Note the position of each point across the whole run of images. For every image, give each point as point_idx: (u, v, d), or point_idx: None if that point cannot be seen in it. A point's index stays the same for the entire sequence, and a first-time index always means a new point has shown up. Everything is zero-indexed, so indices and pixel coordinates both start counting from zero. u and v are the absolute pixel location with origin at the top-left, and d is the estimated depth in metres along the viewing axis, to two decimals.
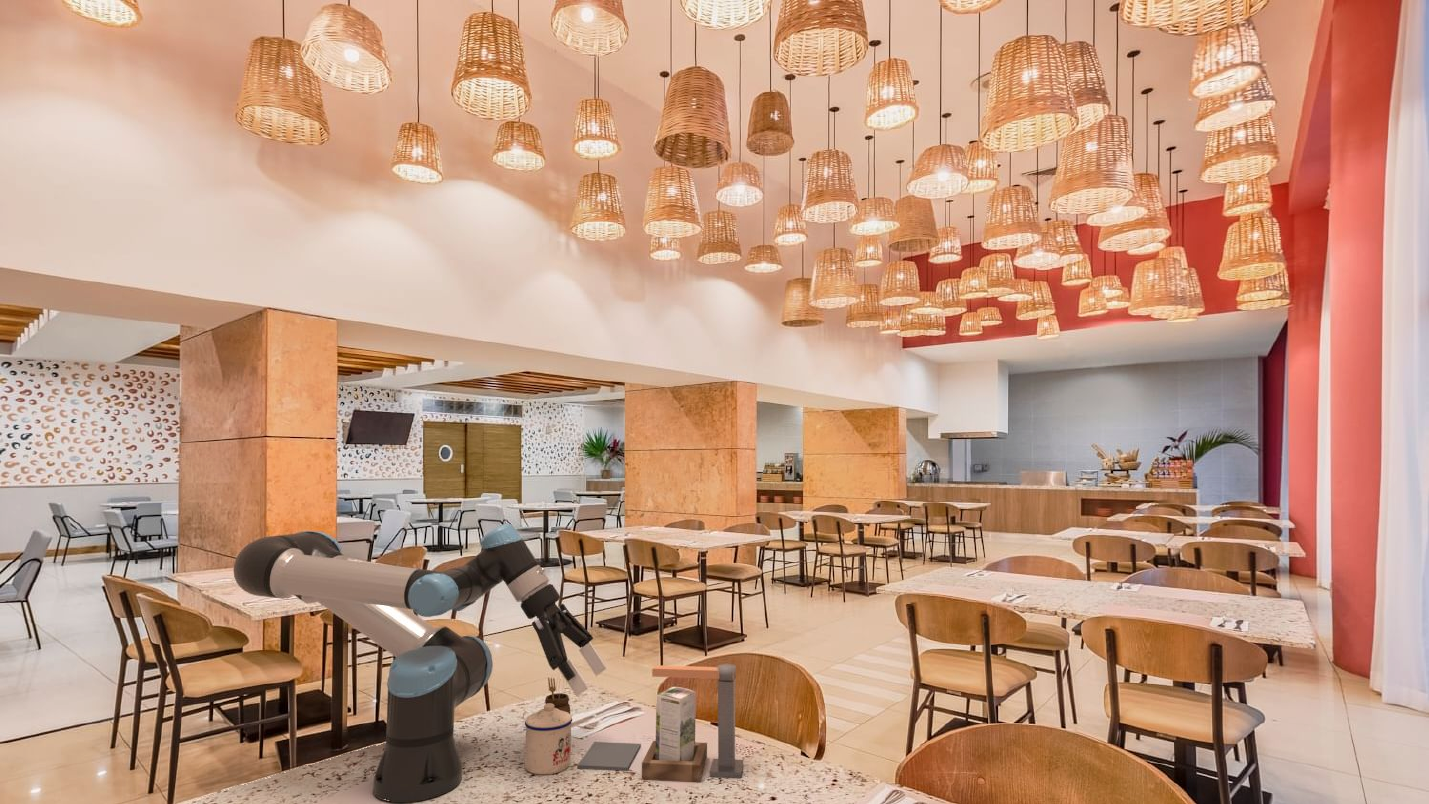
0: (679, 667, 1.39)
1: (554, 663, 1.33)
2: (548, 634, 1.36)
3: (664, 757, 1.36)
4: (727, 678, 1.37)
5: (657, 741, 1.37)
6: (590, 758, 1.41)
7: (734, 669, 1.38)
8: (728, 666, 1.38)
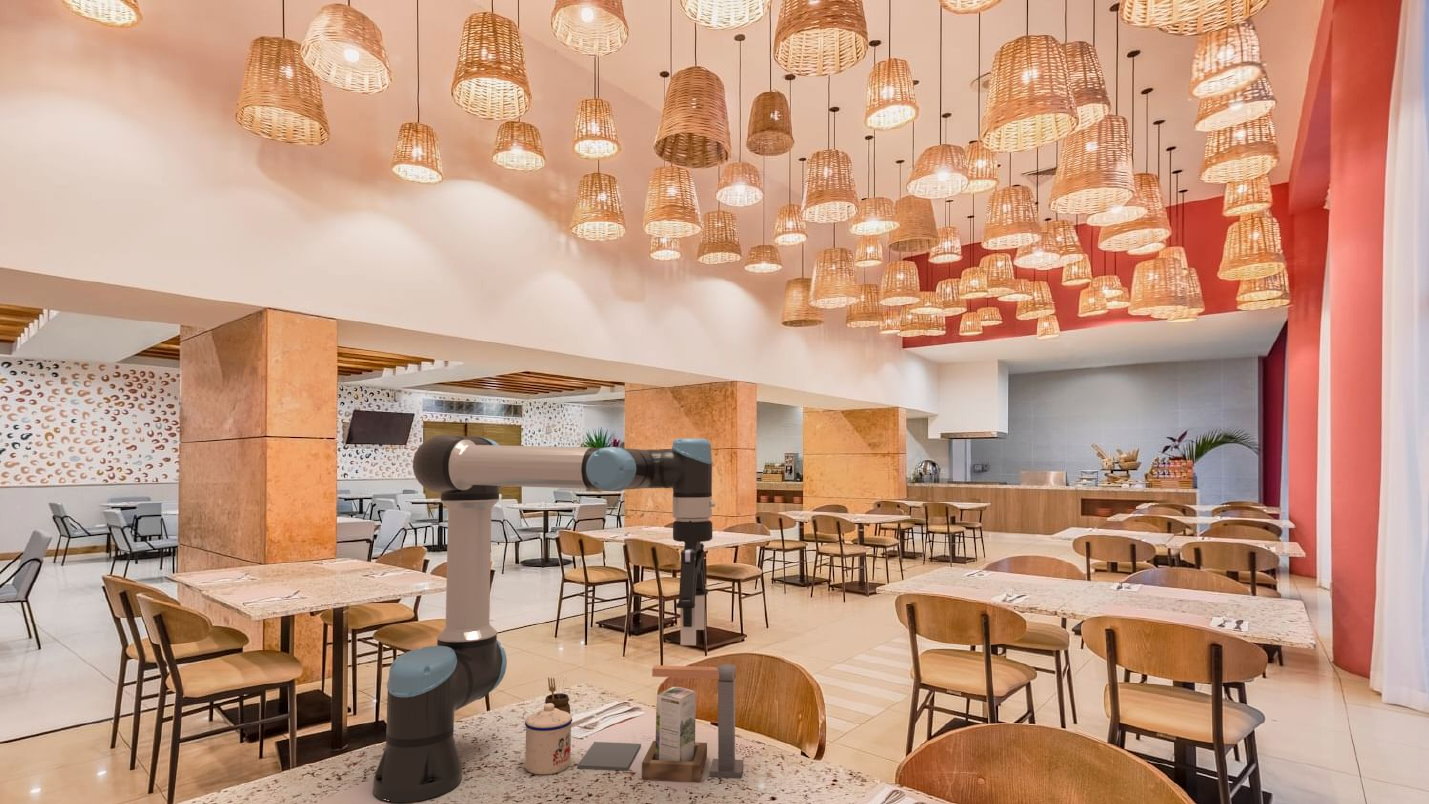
0: (679, 667, 1.39)
1: (684, 604, 1.24)
2: (691, 572, 1.27)
3: (664, 757, 1.36)
4: (727, 678, 1.37)
5: (657, 741, 1.37)
6: (590, 758, 1.41)
7: (734, 669, 1.38)
8: (728, 666, 1.38)
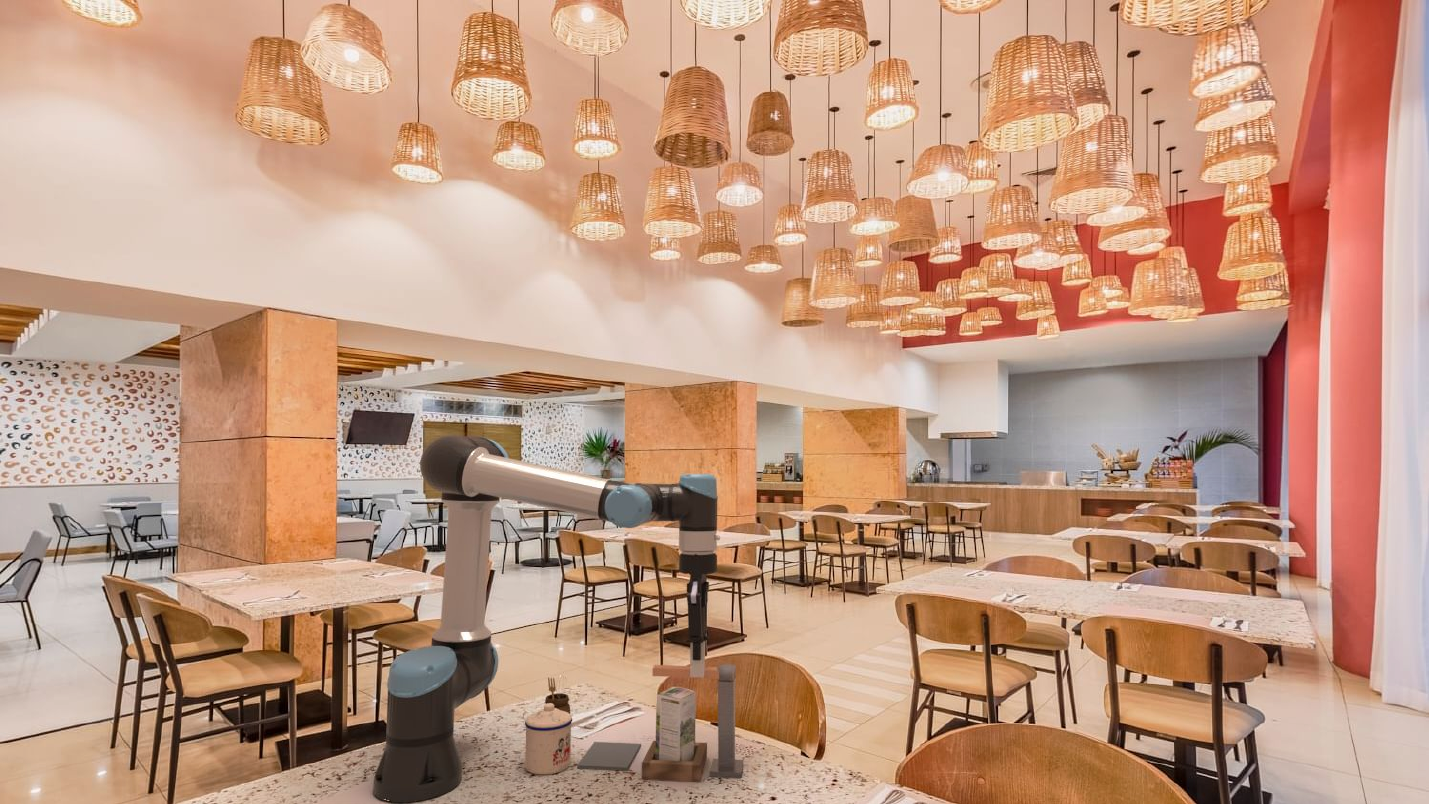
0: (679, 667, 1.40)
1: (694, 641, 1.35)
2: (698, 613, 1.34)
3: (664, 757, 1.36)
4: (727, 678, 1.37)
5: (657, 741, 1.37)
6: (590, 758, 1.41)
7: (734, 669, 1.38)
8: (728, 666, 1.38)
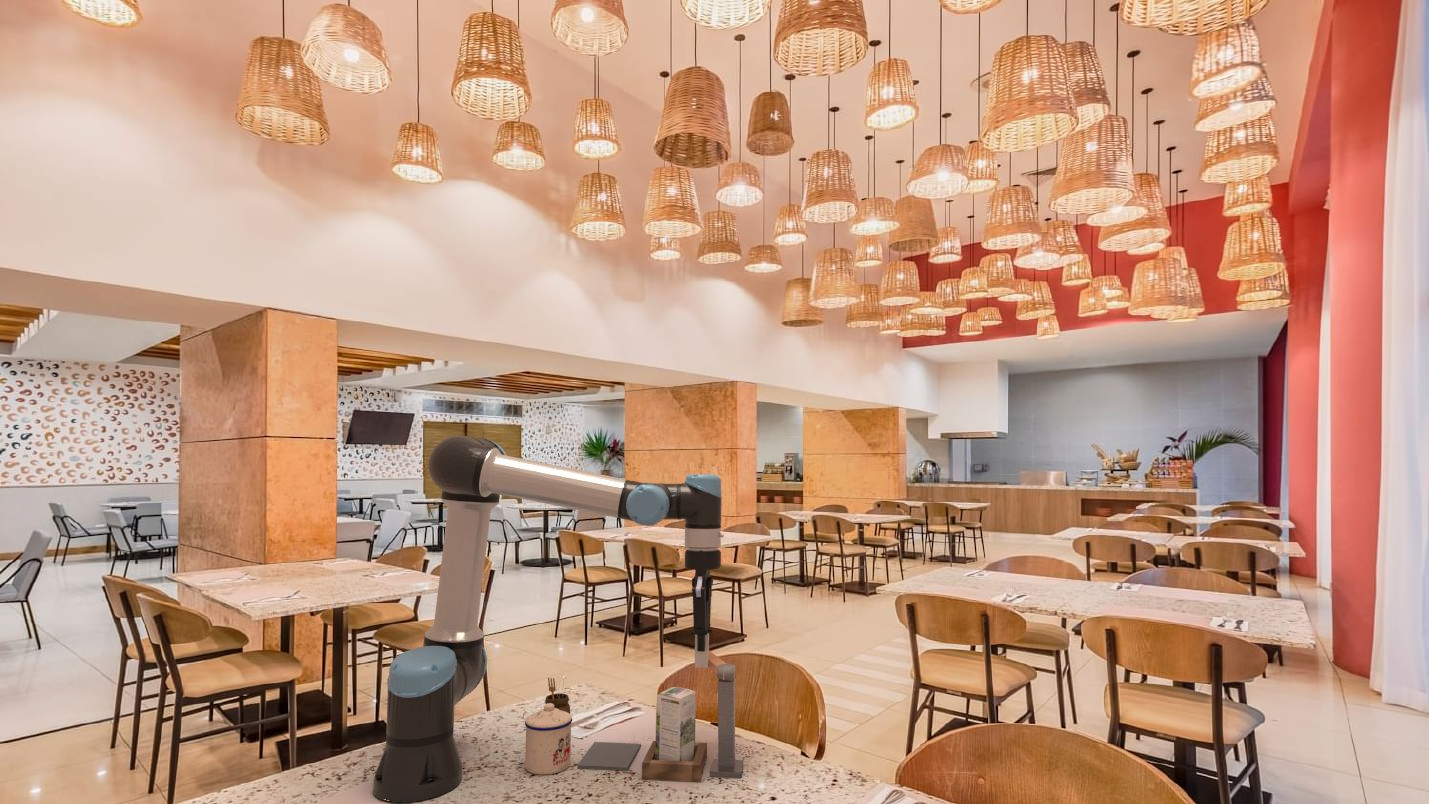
0: (711, 657, 1.47)
1: (698, 633, 1.42)
2: (703, 606, 1.41)
3: (664, 757, 1.36)
4: (718, 677, 1.37)
5: (657, 741, 1.37)
6: (590, 758, 1.41)
7: (725, 670, 1.37)
8: (727, 666, 1.38)
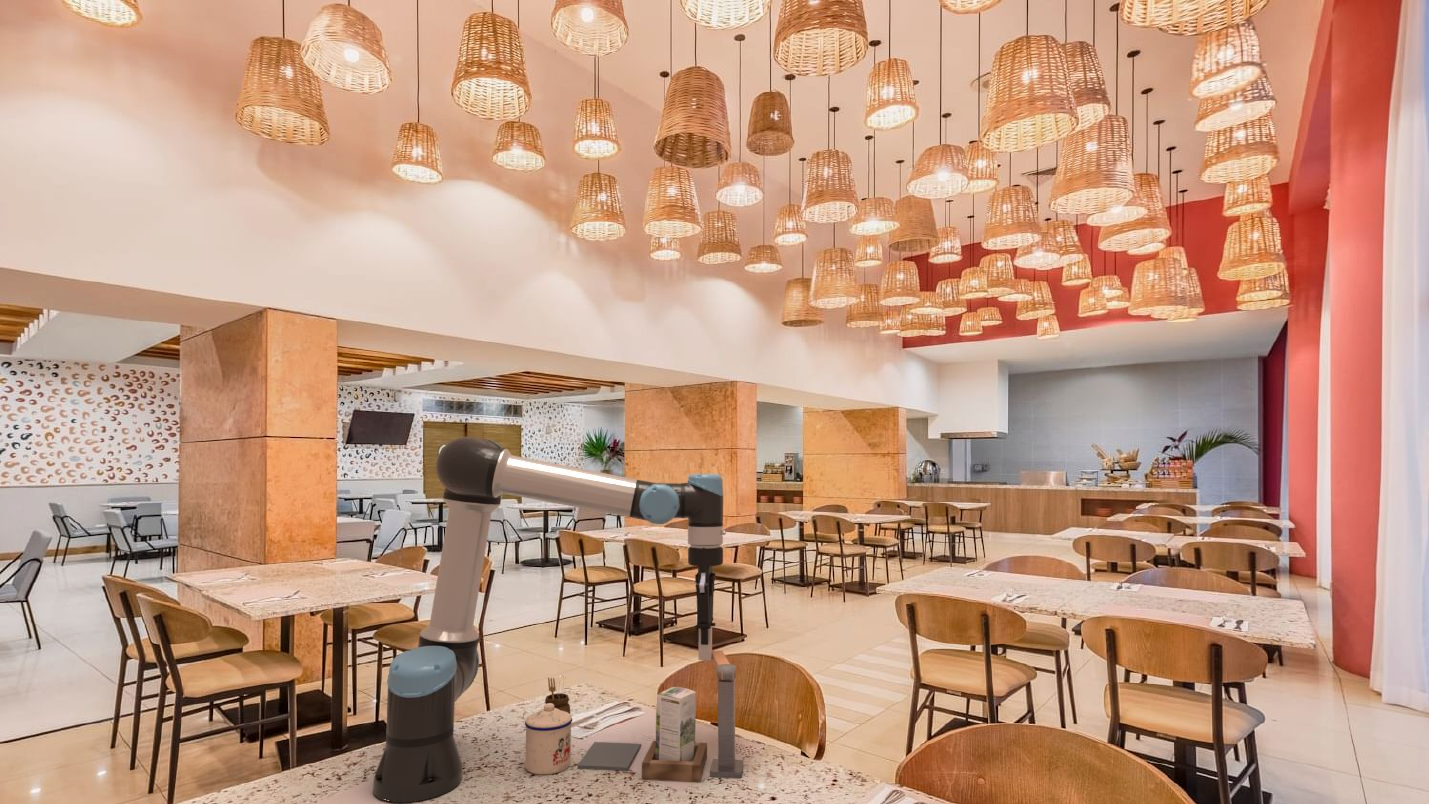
0: (719, 656, 1.48)
1: (702, 627, 1.47)
2: (706, 601, 1.46)
3: (664, 757, 1.36)
4: (717, 676, 1.38)
5: (657, 741, 1.37)
6: (590, 758, 1.41)
7: (724, 670, 1.37)
8: (727, 667, 1.38)
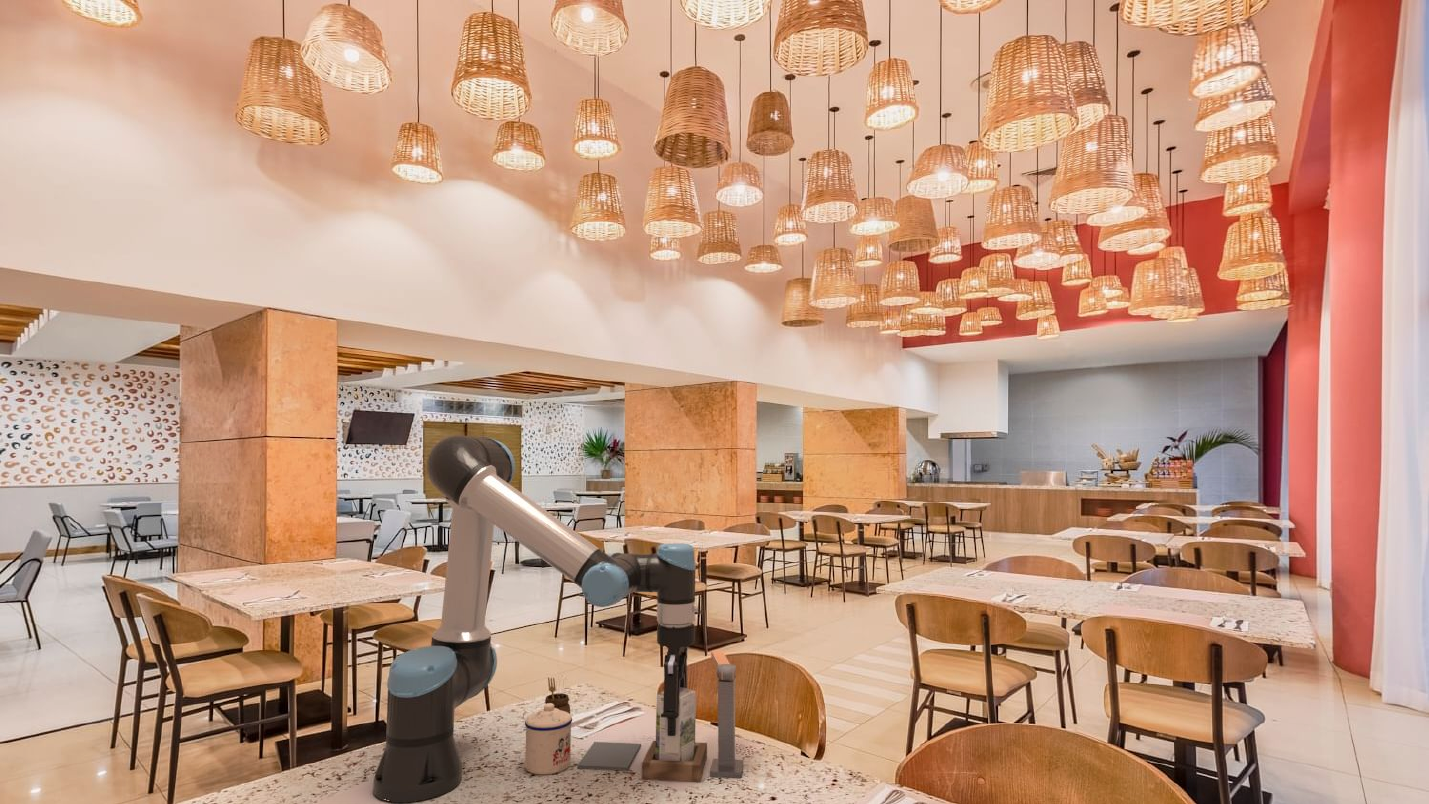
0: (719, 656, 1.48)
1: (668, 716, 1.32)
2: (674, 684, 1.33)
3: (664, 756, 1.36)
4: (717, 676, 1.38)
5: (657, 741, 1.37)
6: (590, 758, 1.41)
7: (724, 670, 1.37)
8: (727, 667, 1.38)
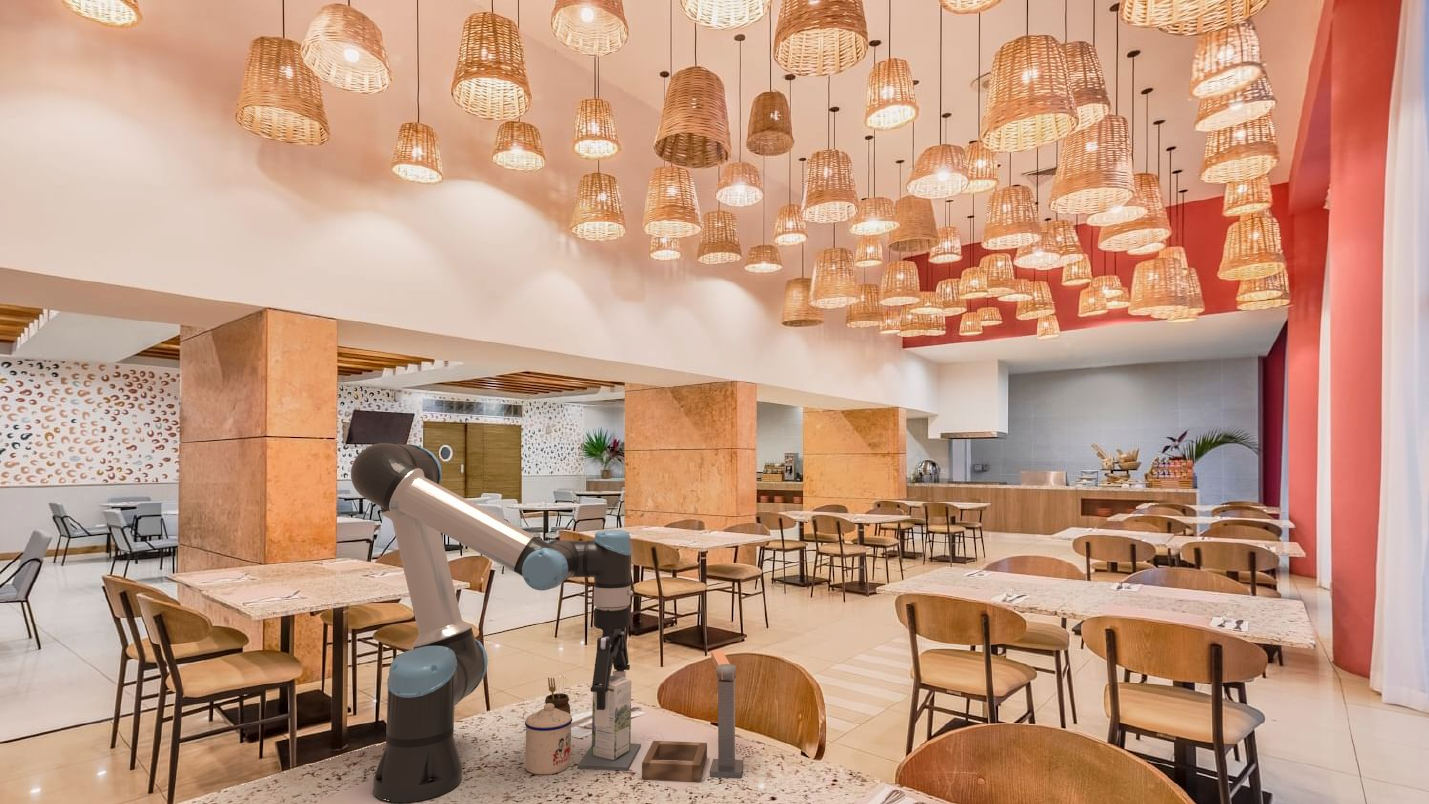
0: (719, 656, 1.48)
1: (596, 690, 1.35)
2: (606, 659, 1.37)
3: (600, 742, 1.41)
4: (717, 676, 1.38)
5: (594, 728, 1.42)
6: (590, 758, 1.41)
7: (724, 670, 1.37)
8: (727, 667, 1.38)
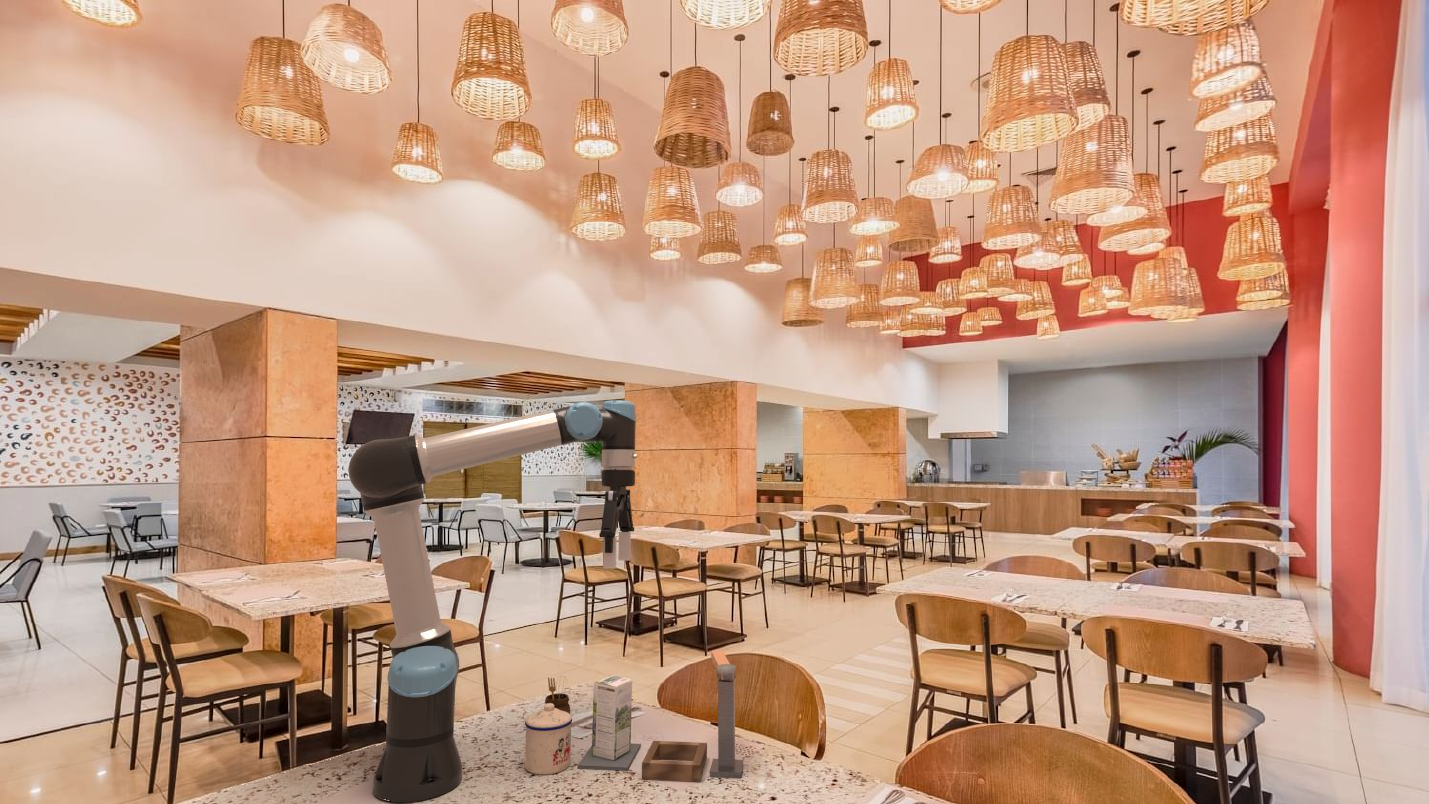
0: (719, 656, 1.48)
1: (605, 533, 1.50)
2: (613, 508, 1.52)
3: (600, 742, 1.41)
4: (717, 676, 1.38)
5: (594, 728, 1.42)
6: (590, 758, 1.41)
7: (724, 670, 1.37)
8: (727, 667, 1.38)
